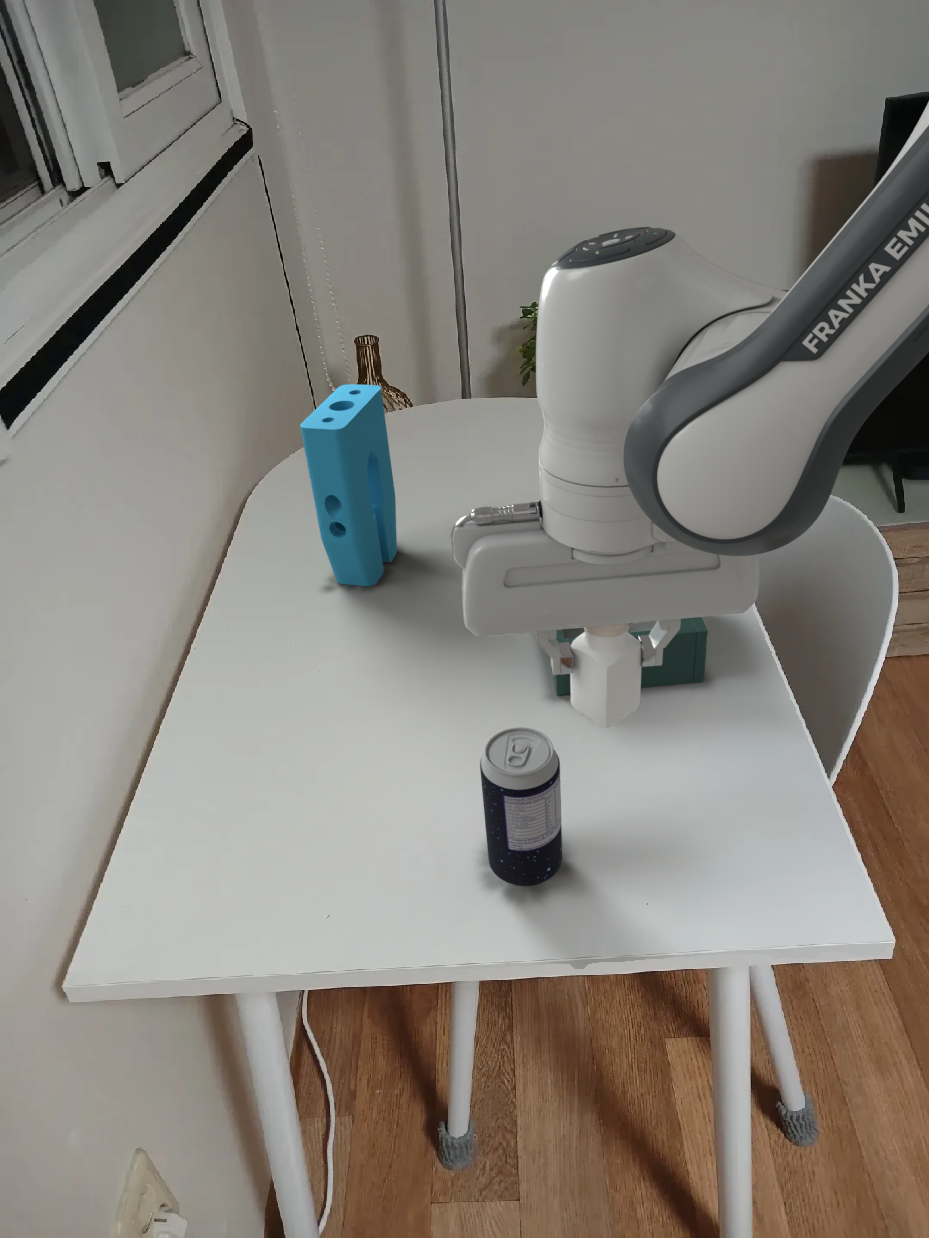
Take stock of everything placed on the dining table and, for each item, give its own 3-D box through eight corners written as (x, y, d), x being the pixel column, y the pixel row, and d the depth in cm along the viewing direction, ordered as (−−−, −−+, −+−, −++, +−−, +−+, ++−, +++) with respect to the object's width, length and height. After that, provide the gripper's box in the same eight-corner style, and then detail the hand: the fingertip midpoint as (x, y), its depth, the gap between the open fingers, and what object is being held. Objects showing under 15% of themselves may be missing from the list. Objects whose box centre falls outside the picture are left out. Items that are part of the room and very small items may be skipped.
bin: (670, 601, 102) (672, 552, 98) (703, 682, 90) (708, 631, 87) (539, 613, 102) (537, 565, 98) (556, 695, 90) (555, 645, 87)
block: (366, 538, 118) (341, 384, 107) (404, 542, 117) (383, 385, 105) (327, 591, 109) (296, 427, 97) (368, 595, 107) (341, 430, 96)
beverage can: (568, 842, 75) (566, 728, 69) (554, 900, 71) (550, 783, 64) (499, 831, 77) (490, 718, 70) (481, 886, 72) (469, 772, 66)
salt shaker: (567, 708, 72) (565, 604, 67) (604, 684, 74) (605, 582, 69) (606, 733, 70) (607, 627, 64) (643, 708, 72) (647, 603, 66)
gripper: (450, 535, 59) (466, 706, 67) (778, 505, 59) (756, 679, 67) (446, 488, 64) (462, 652, 72) (748, 461, 64) (731, 628, 72)
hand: (606, 665), depth 70 cm, fingers closed on salt shaker, 5 cm apart
